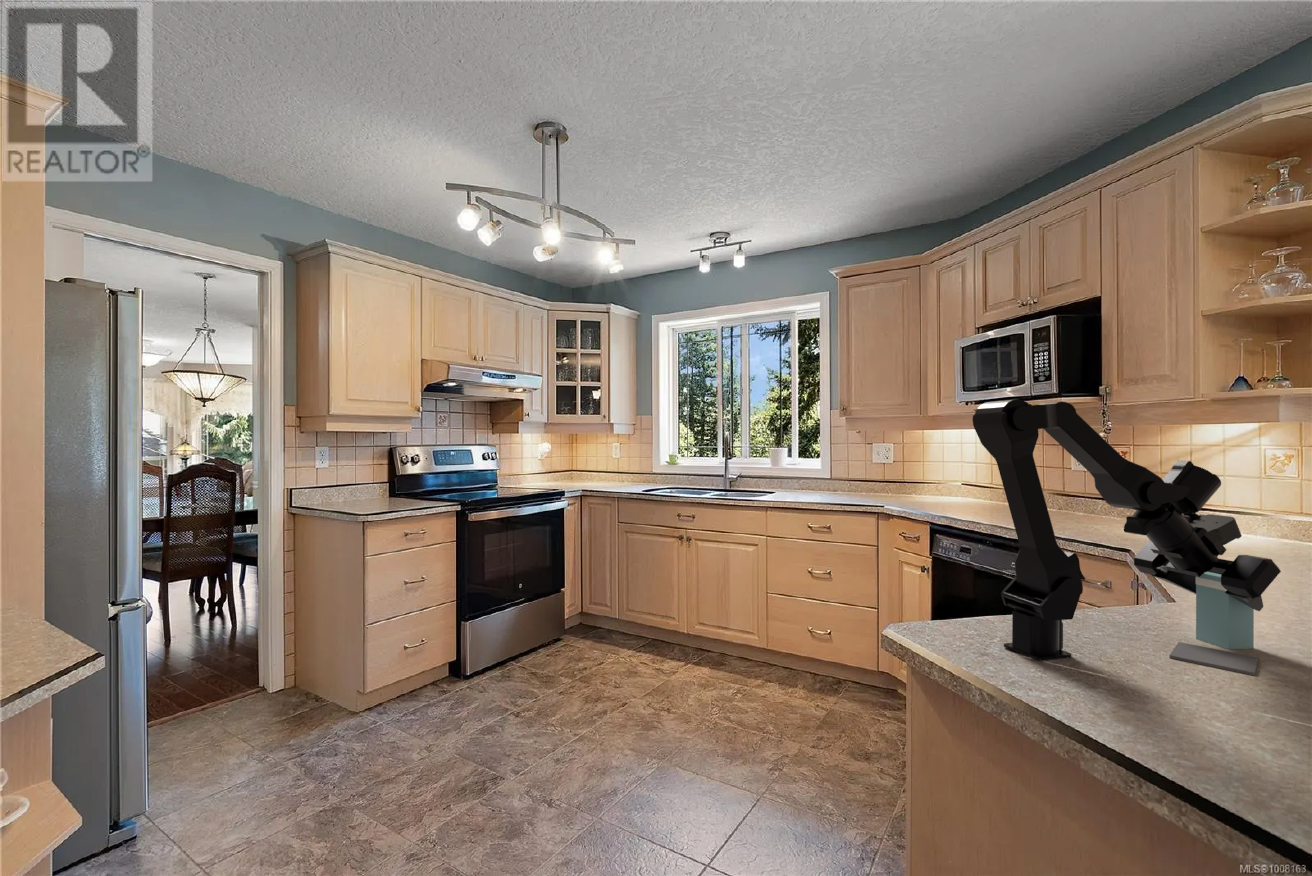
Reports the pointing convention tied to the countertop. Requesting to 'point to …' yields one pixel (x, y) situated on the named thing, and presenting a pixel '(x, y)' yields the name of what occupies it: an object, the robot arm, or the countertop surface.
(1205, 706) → the countertop surface
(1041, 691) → the countertop surface
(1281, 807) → the countertop surface
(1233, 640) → the carton
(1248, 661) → the mat
